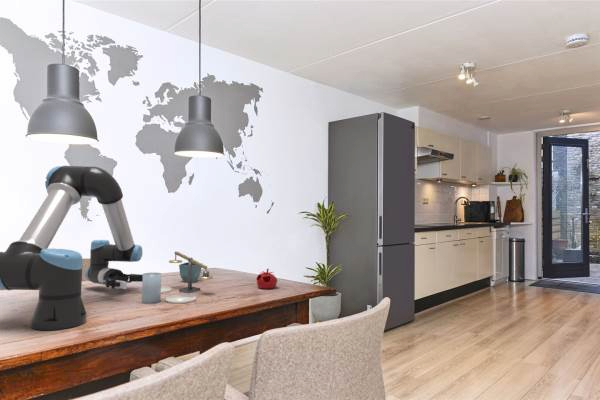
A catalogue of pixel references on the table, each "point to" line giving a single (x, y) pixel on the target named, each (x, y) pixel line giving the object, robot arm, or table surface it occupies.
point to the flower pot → (184, 272)
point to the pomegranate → (266, 280)
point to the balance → (190, 262)
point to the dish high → (165, 289)
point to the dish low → (180, 299)
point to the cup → (151, 288)
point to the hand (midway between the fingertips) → (141, 283)
